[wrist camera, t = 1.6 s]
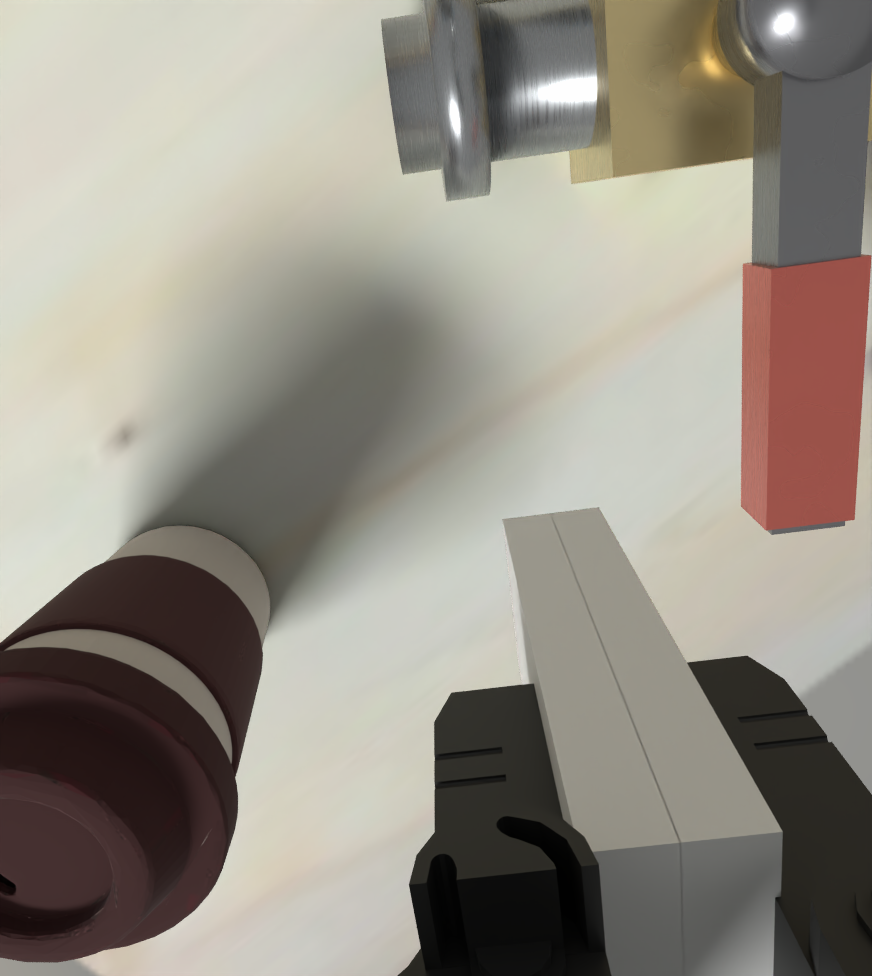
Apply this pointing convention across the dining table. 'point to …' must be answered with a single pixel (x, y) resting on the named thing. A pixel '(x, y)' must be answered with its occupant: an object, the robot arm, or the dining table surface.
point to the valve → (564, 88)
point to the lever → (803, 255)
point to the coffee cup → (125, 743)
